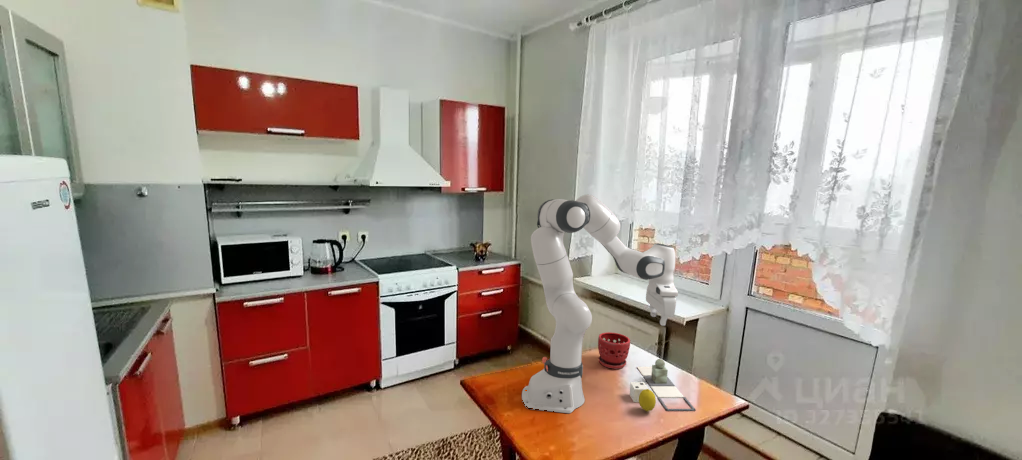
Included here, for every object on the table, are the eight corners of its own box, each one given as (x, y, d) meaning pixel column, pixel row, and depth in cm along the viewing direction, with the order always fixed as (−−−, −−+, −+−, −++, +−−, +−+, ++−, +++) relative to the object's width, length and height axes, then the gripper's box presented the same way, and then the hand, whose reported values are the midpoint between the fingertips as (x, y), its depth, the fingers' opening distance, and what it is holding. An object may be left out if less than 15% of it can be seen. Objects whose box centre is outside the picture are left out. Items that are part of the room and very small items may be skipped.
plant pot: (621, 374, 165) (622, 346, 163) (591, 364, 173) (592, 337, 172) (633, 363, 175) (635, 336, 173) (605, 354, 183) (606, 329, 182)
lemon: (656, 416, 136) (657, 394, 135) (638, 414, 137) (640, 392, 136) (653, 407, 142) (655, 386, 141) (637, 405, 143) (638, 384, 142)
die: (633, 402, 145) (634, 388, 144) (629, 394, 150) (630, 381, 149) (647, 402, 145) (648, 388, 144) (643, 395, 150) (644, 381, 149)
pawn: (655, 383, 157) (656, 361, 156) (651, 377, 162) (652, 356, 160) (666, 383, 157) (668, 362, 156) (662, 377, 162) (663, 356, 161)
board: (666, 411, 140) (666, 409, 140) (636, 367, 171) (636, 366, 171) (695, 410, 140) (695, 409, 140) (659, 367, 171) (659, 366, 171)
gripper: (643, 278, 166) (640, 311, 168) (662, 292, 146) (659, 330, 148) (658, 279, 166) (655, 311, 168) (680, 293, 146) (676, 330, 148)
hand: (657, 320), depth 158 cm, fingers open, 8 cm apart
